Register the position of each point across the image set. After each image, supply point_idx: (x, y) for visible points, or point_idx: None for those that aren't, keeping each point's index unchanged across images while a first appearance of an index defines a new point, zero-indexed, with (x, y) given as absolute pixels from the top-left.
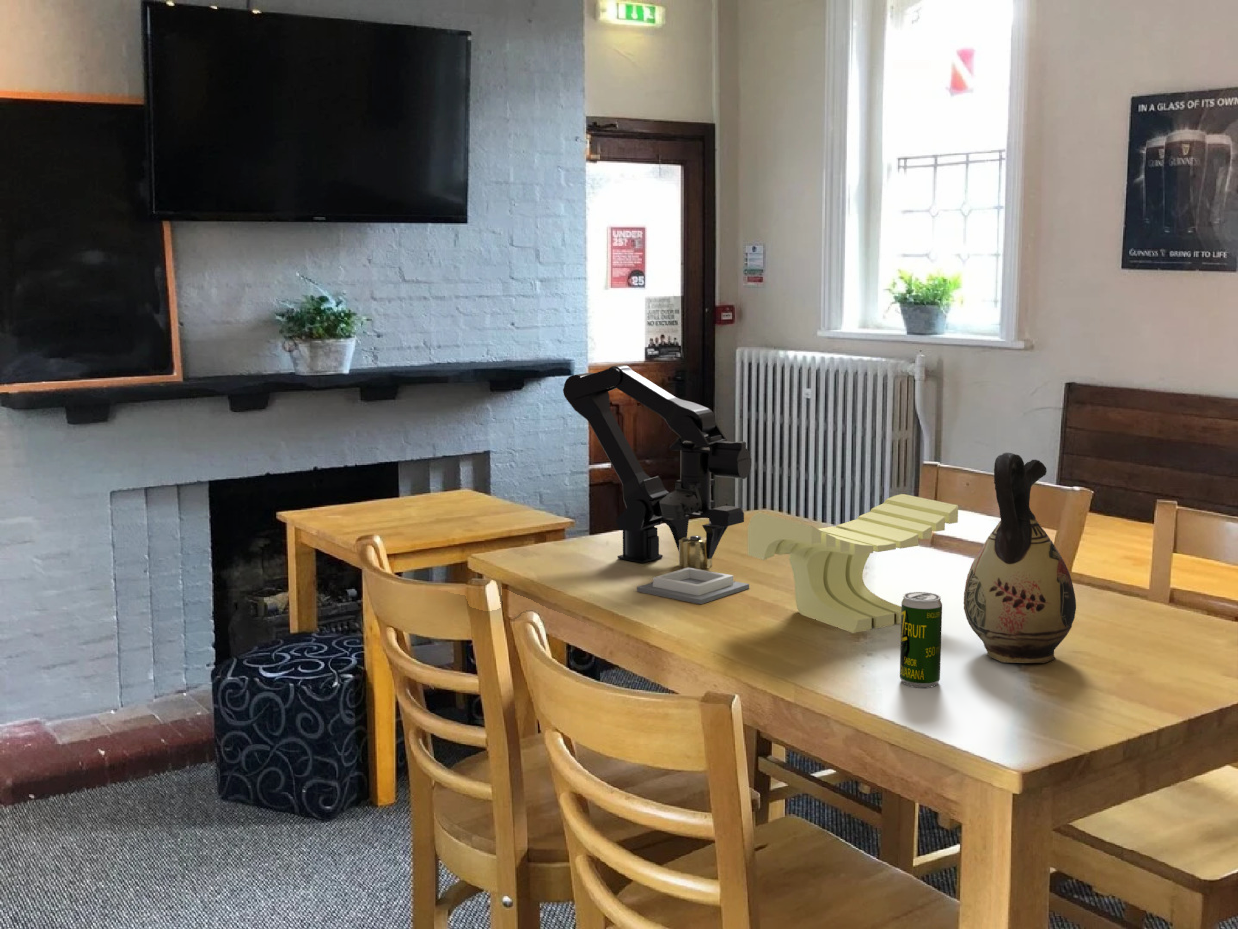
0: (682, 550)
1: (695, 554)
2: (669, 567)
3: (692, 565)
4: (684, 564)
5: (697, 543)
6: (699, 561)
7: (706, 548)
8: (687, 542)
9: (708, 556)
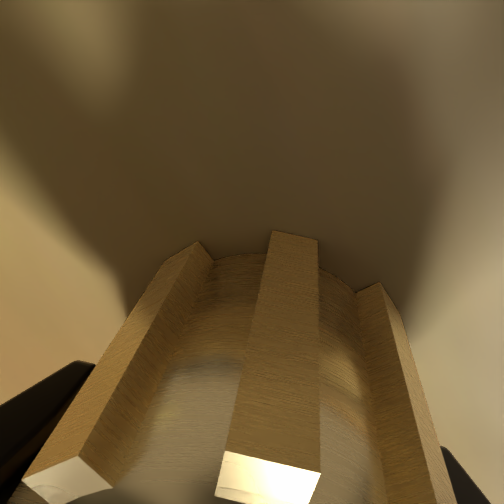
0: (373, 412)
1: (149, 328)
2: (471, 225)
3: (228, 269)
4: (305, 255)
5: (53, 464)
6: (142, 296)
7: (19, 439)
8: (236, 471)
9: (61, 373)
